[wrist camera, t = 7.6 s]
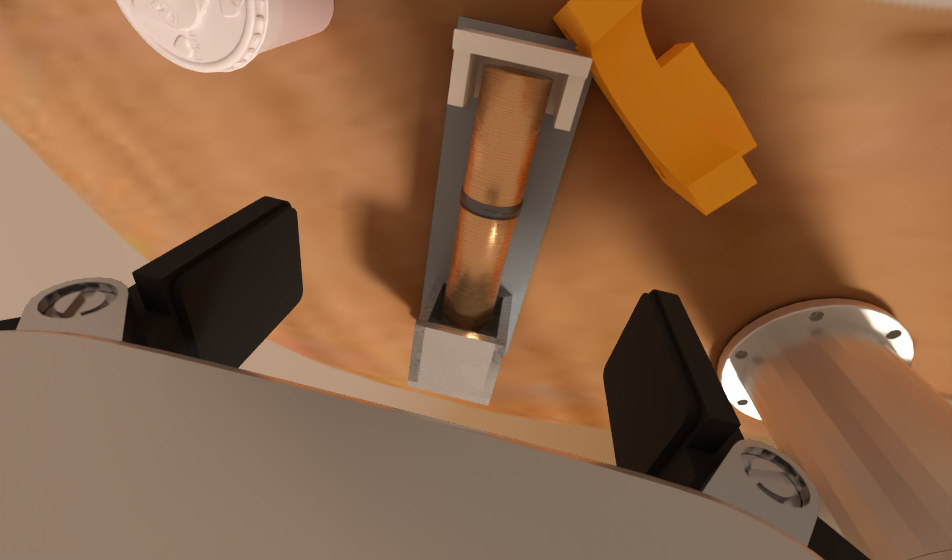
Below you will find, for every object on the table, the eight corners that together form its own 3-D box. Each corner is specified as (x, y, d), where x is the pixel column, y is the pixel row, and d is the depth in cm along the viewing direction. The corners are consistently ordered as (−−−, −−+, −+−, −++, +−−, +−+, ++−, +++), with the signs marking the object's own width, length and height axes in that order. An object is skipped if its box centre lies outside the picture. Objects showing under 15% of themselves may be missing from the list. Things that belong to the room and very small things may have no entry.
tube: (554, 76, 22) (556, 84, 18) (495, 304, 30) (489, 337, 27) (487, 61, 22) (476, 67, 18) (447, 293, 30) (435, 324, 27)
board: (599, 46, 22) (601, 47, 21) (507, 345, 35) (506, 354, 34) (462, 16, 23) (458, 15, 22) (421, 324, 36) (417, 332, 35)
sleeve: (512, 295, 31) (506, 346, 26) (496, 350, 34) (488, 405, 29) (436, 276, 31) (415, 324, 26) (427, 334, 35) (407, 385, 30)
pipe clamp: (728, 135, 24) (795, 158, 18) (662, 181, 26) (705, 215, 20) (621, -50, 20) (664, -93, 15) (552, 17, 22) (566, 3, 16)
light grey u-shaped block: (584, 53, 22) (593, 58, 18) (566, 116, 24) (570, 134, 20) (471, 28, 22) (454, 28, 18) (461, 92, 24) (444, 105, 20)
